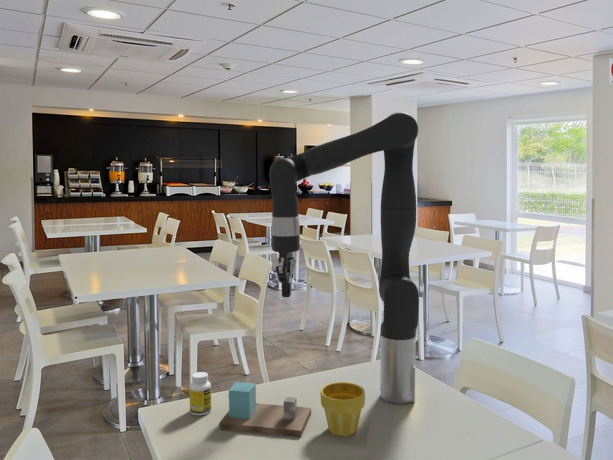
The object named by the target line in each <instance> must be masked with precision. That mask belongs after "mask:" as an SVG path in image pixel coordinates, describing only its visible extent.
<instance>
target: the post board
mask: <svg viewBox="0 0 613 460" xmlns="http://www.w3.org/2000/svg"><path fill="white" fill-rule="evenodd" d="M311 415H312V407H305V406H297V397H291V396H286V397H285V398H284V400H283V404H282V405H281V404H268V403H259V402H258V403H257V402H256V410H255V412H254V413H253V415H252V416H251V418H250V419H244V418H233V417H229V410H228V411H227V412H226V414H225V415H224V416H223V417H222V419H220V421H219V423H218V426H219V427H218V429H219V430H225V431H226V430H228V431H237V432H247V433H248V432H249V433H256V434H257V433H260V434H269V435H270V434H271V435H279V436H288V437H289V436H290V437H300V438H301V437H302V436H303V433H304V431H305V429H306V427H307V424H308V421H309V419H310V417H311Z"/></svg>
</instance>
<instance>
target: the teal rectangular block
mask: <svg viewBox="0 0 613 460" xmlns="http://www.w3.org/2000/svg"><path fill="white" fill-rule="evenodd" d="M256 385H257V384H256V383H253V382H239V381H235V382H234V384H233V385H232V386H231V387H230V388H229V389H228V411H229V417H233V418H244V419H250V418H251V416H252V415H253V413H254V412H255V410H256V403H257V392H256V391H257V387H256Z"/></svg>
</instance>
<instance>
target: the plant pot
mask: <svg viewBox="0 0 613 460" xmlns="http://www.w3.org/2000/svg"><path fill="white" fill-rule="evenodd" d="M365 402H366V391H365V389H364V388H363V387H362V386H361V385H359V384H356V383H353V382H348V381H347V382H346V381H341V382H339V381H338V382H333V383H332V382H331V383H329V384H326V385H324V386H322V387H321V389H320V405H321V407H322V408H323V409H324V414H325V418H326V422H327V426H328V431H329V432H330V433H331V434H332V435H335V436H336V437H337V436H338V437H348V436H352V435H353V434H355V433H356V432H357V430H358V428H359V423H360V418H361V413H362V409H364V407H365Z"/></svg>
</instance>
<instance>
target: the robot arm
mask: <svg viewBox="0 0 613 460" xmlns="http://www.w3.org/2000/svg"><path fill="white" fill-rule="evenodd" d="M418 133H419V125H418V122H417V120H416V119H415V117H413V116H412V115H411V114H409V113H407V112H404V111H403V112H401V111H398V112H394V113H392V114H390V115H388V116H387V117H386V118H383V120H381V121H379V122H377V123H375V124H373V125H371V126H370V127H368V128H365V129H362V130H359V131H358V132H355V133H353V134H349V135H346V136H344V137H340V138H337V139H333V140H330V141H327V142H325V143H322V144H319V145H317V146H313V147H310V148H308V149H306V150H305V151H304V152H302V153H301V152H300V153H298V154H295V155H291V156H289V157H285V158H284V157H282V158H278V159H276V160H274V161H273V162H272V164H271V165H270V167H269V172H268V173H269V176H268V177H269V186H270V193H271V197H272V198H271V199H272V200H271V201H272V202H271V211H272V213H271V215H272V218H271V250H272V251H273V252H275V253H278V258H277V259H276V260H277V263H276V264H277V265H276V266H275V271H276V272H275V273H276V276H277V279H278V282H279V283H280V284H281V297H282V298H290V297H291V295H292V281H293V279H294V274H295V266H296V261H297V260H296V259H295V257H294V253H296V252H299V251H300V248H301V245H300V244H301V241H300V239H301V238H300V235H301V233H300V231H301V230H300V228H301V227H300V219H299V218H300V217H299V199H298V196H297V193H296V192H297V191H296V190H297V186H296V184H297V182H299V181H302V180H304V179H307V178H309V177H311V176H315V175H319V174H322V173H325V172H328V171H331V170H334V169H337V168H339V167H342V166H344V165H347V164H348V163H351V162H354V161H356V160H357V159H360V158H362V157H366V156H368V155H371V154H375V153H379V152H383V159H384V172H383V173H384V174H383V179H382V188H381V195H380V238H381V239H380V240H381V265H380V266H381V267H380V276H379V284H378V294H379V297H380V299H381V301H382V302H383V321H382V323H381V324H380V374H379V375H380V380H379V381H380V384H379V386H380V387H379V391H380V394H379V395H380V398H381V400H384V401H385V402H388V403H391V404H399V405H400V404H408V403H415V402H416V341H417V339H416V337H417V328H418V326H419V314H420V310H419V309H420V293H419V288H418V287H417V285H416V284H415V283H414V282H413V280H411V275H410V251H411V247H412V244H413V241H414V240H413V239H414V235H415V233H416V228H417V227H416V225H417V196H416V195H417V194H416V186H415V178H414V172H413V166H414V165H413V164H414V163H413V162H414V153H415V151H414V150H415V145H416V144H415V143H416V139H417V138H418Z"/></svg>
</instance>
